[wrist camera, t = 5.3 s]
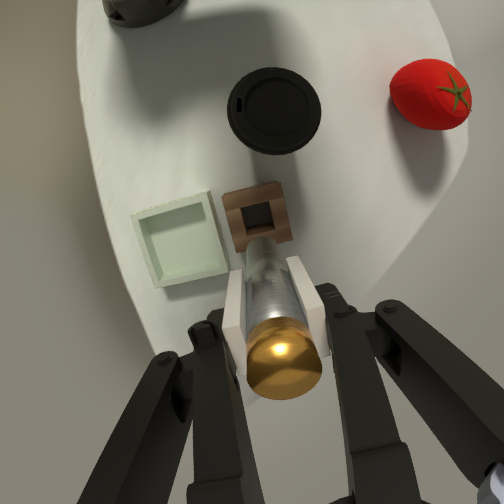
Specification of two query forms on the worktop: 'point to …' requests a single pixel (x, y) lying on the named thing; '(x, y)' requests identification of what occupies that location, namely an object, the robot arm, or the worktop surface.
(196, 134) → the worktop surface
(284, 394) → the pin
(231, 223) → the socket block
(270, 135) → the coffee cup
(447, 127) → the tomato
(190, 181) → the worktop surface
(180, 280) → the tray
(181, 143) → the worktop surface
